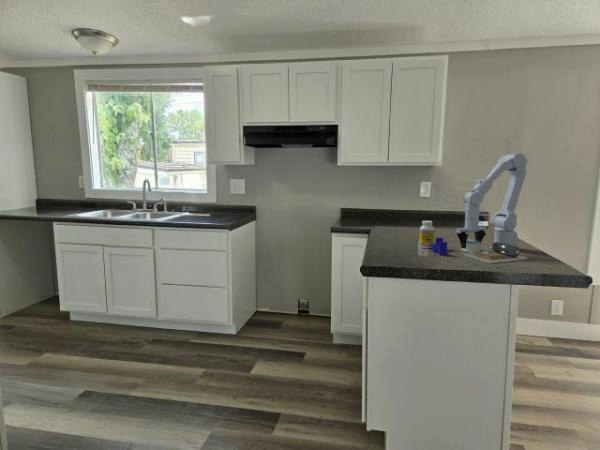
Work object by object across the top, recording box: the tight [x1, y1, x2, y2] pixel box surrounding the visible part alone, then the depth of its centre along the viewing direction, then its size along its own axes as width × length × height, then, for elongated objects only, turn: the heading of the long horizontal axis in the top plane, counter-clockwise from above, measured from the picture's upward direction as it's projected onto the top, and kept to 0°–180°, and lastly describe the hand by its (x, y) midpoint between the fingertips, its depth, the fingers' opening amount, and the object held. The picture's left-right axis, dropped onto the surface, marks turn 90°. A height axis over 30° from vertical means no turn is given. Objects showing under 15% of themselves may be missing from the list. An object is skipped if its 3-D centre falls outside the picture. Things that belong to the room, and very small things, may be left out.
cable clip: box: [431, 237, 448, 257], centre depth 181 cm, size 12×4×6 cm, turn 170°
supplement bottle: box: [418, 220, 435, 249], centre depth 192 cm, size 7×7×13 cm
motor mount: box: [463, 242, 528, 264], centre depth 169 cm, size 18×16×5 cm
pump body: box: [460, 238, 482, 253], centre depth 183 cm, size 4×7×5 cm, turn 16°
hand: (470, 247), depth 183 cm, fingers open, 7 cm apart
